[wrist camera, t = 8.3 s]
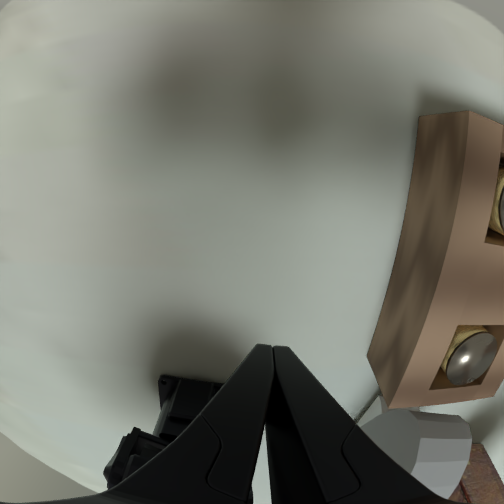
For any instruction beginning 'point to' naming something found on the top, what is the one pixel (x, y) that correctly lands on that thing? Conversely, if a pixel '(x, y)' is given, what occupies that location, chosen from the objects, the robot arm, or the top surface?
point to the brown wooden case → (479, 480)
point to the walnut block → (444, 265)
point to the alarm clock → (421, 443)
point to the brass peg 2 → (498, 205)
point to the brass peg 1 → (469, 354)
